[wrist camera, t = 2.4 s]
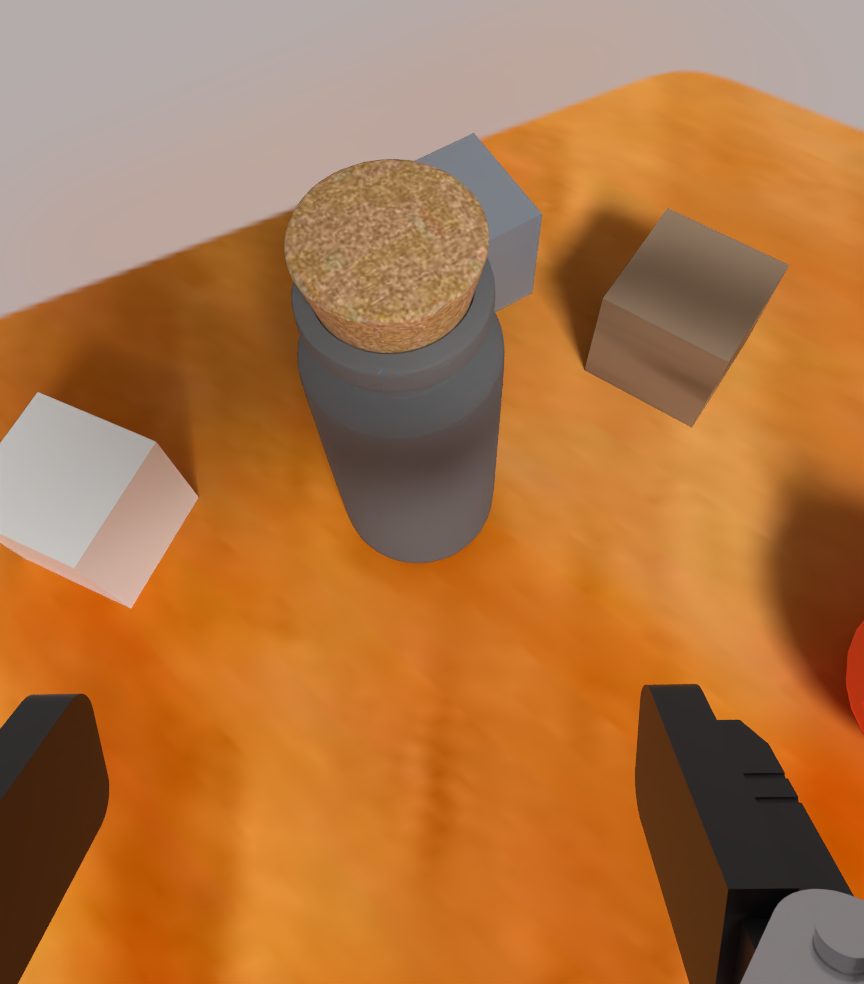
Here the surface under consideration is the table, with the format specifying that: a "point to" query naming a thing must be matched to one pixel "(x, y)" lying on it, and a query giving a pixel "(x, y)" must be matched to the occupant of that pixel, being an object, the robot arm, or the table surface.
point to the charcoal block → (497, 215)
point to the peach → (856, 675)
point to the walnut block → (680, 315)
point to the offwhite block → (88, 498)
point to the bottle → (400, 351)
